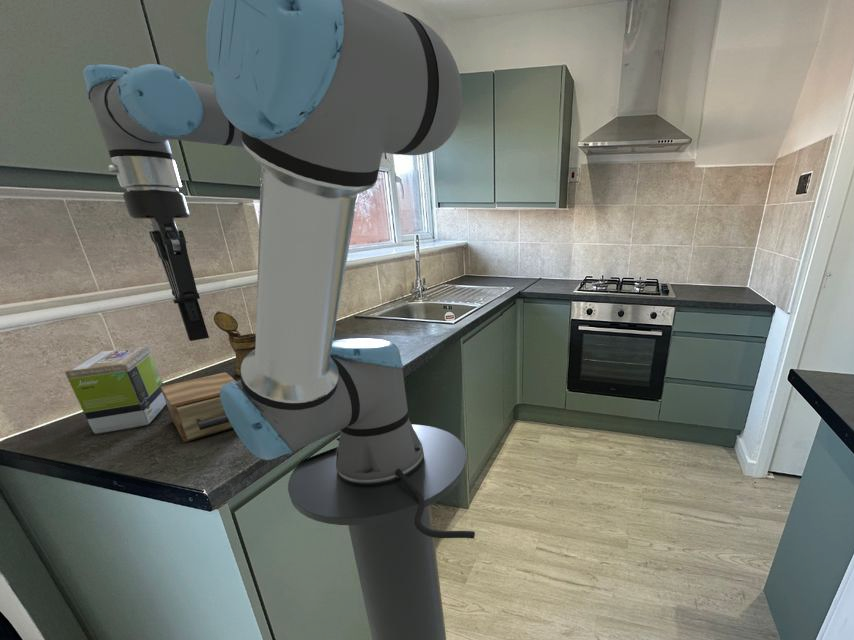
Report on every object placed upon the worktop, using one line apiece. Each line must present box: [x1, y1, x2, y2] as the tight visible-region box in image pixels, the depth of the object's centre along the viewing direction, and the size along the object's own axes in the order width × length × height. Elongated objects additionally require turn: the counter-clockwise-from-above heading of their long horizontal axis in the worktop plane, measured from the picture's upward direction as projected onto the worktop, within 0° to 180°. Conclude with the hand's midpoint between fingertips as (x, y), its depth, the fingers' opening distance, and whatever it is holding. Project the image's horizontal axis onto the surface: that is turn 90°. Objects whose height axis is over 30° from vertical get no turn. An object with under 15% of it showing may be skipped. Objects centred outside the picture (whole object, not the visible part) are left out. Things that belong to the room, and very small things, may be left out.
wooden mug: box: [213, 310, 256, 377], centre depth 122 cm, size 9×14×18 cm, turn 70°
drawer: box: [176, 396, 232, 439], centre depth 89 cm, size 18×11×7 cm, turn 45°
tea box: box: [64, 345, 167, 435], centre depth 94 cm, size 15×10×15 cm
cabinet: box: [161, 371, 237, 443], centre depth 91 cm, size 14×12×8 cm
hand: (199, 338), depth 73 cm, fingers closed
